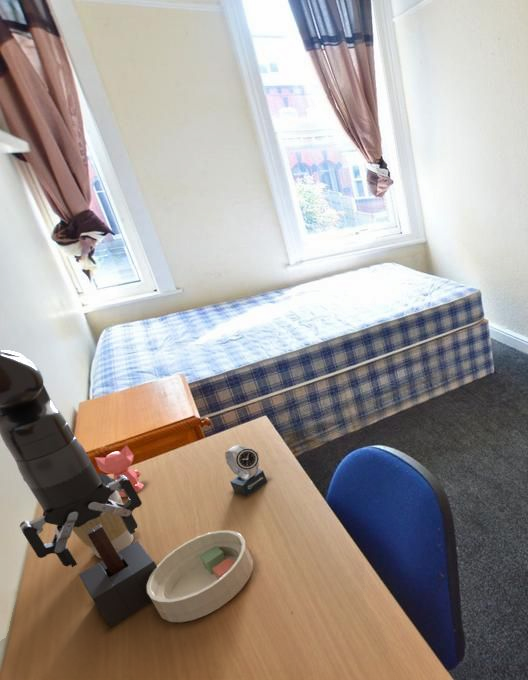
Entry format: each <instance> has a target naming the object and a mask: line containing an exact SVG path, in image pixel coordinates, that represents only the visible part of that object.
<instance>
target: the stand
mask: <svg viewBox="0 0 528 680" xmlns="http://www.w3.org/2000/svg"><path fill="white" fill-rule="evenodd" d="M117 553H118V555H119V557H120V559H121V560H122V562H123V564H124V566H125V567H126V568H124V569H123V570H121V571H119V572H118V573H116V574H114V575H113V576H112V575H111V573H110V572H109V570H108V568H107V567H106V565H105V563H104V562H103V560H101V561H100V562H98V563H96V564H95V565H93V566H91V567H89V568H87V569H86V570H84V571H82V572H80V573H79V574H78V576H79V578H80V581H81V582H82V584H83V586H84V587H85V589H86V590H87V592H88V594H89V596H90V598H91V599H92V601H93V603H94V604H95V605H96V607H97V610H99V612H100V613H101V615H102V616H103V618H104V620H105V621H106V623H107V625H108V626H109V627H110V628H112V627H114V626H116V625H117V624H119V623H120V622H122V621H123V620H125V619H126V618H127V617H130V616H131V615H132V614H135V612H137V611H138V610H140V609H142V608H143V607H144V606H145V605H147V604H149V603H150V602H152V601H151V599H150V597H149V595H148V594H147V582H148V580H149V577H150V575H151V573H152V572H153V570H154V569H156V568H157V564H156V562H155V561H154V560H153V558H152V557H151V556H150V555H149V553H148V552H147V551H146V549H145V548H144V546H143V545H142V544H141V543H140V542H139V541H138V540H136V541H133V542H132V543H131V544H130V545H129V546H127V547H125V548H124V549H122V550H120V551H119V552H117Z"/></svg>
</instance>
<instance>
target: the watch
mask: <svg viewBox="0 0 528 680" xmlns="http://www.w3.org/2000/svg"><path fill="white" fill-rule="evenodd" d="M259 457H260V456H259V452H258V451H257V450H254V449H253V448H249V447H247V446H246V445H244V446H243V445H240V444H236V445H233V446H232V447H231V448H229V449H228V450H225V452H224V458H225V460H226V464H227V465H228V467H229V469H230V470H231V472H233V474H234V475H237V476H236V477H234V478H232V479H231V480H230V481H229V482H230V485H231V487H232V490H233V493H236V494H239V495H242V496H244V497H248V496H249V495H251V494H252V493H253V492H254V491H256V490H257V489H259V488H260V487H261V486H262V485H264V484H265V483H267V482H268V480H267V477H266V474H265V472H264V470H263V469H260V468H259V466H260V463H259V461H260V458H259Z"/></svg>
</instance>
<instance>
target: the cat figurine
mask: <svg viewBox="0 0 528 680" xmlns="http://www.w3.org/2000/svg"><path fill="white" fill-rule="evenodd" d="M94 459H95V462H96V465H97V467H98V470H99V471H100V472H101V473H105V474H107V475H108V474H109V475H113V479H114V480H117V477H118V476H120V475H125V476H126V477H127V478H128V479H129V480H130V482H131V484H132V486H133V487H134V489H135V491H136V493H138V492H140V491H141V490H143V487H144V486H145V484H143V483H141V482H140V479H139V478H140V476H141V472H140V471H139V470H137V469H135V470H132V469H131V468H130V467H131V465H132V463H133V461H134V453H133V452H132V451H131V449H130V448H129V446H128V445H127V444H126V445H124V447H123V448H122V449H121V450H120V451H112V452H110V453H109V454H107V455H106V457H99V456H98V457H95V456H94ZM118 494H119V495H120V496H121V498H127V497H126V495H125V493H124V491H123V492H118Z"/></svg>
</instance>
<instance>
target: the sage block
mask: <svg viewBox="0 0 528 680" xmlns="http://www.w3.org/2000/svg"><path fill="white" fill-rule="evenodd" d="M200 559H201V561H202V563H203V565H204V567H205V568H206V569H207V570H208V572H209V573H210V574H211V575H212V574H214V572H213V570H212V568H214V567H215V566H217V565H218V564H220V563H221V562H223V561H224V560H226V557H225V555H224V553H223V552H222V551H221V550H220V549H219V548H218V547H217V546H215V547H213V548H211V549H210V550H208V551H207V552H205V553H204V554H202V555H201V556H200Z"/></svg>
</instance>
